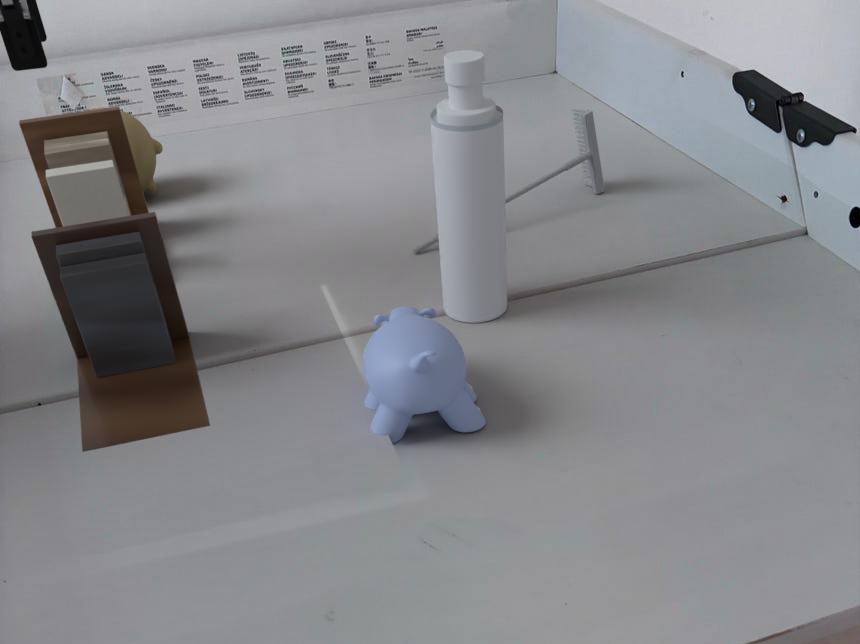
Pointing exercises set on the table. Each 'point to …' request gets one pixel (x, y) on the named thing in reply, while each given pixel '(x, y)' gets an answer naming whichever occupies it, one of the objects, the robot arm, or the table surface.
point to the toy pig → (142, 150)
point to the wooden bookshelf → (83, 150)
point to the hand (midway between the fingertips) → (31, 54)
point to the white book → (87, 192)
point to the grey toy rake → (565, 164)
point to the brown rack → (123, 329)
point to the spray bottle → (470, 193)
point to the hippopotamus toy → (417, 374)
